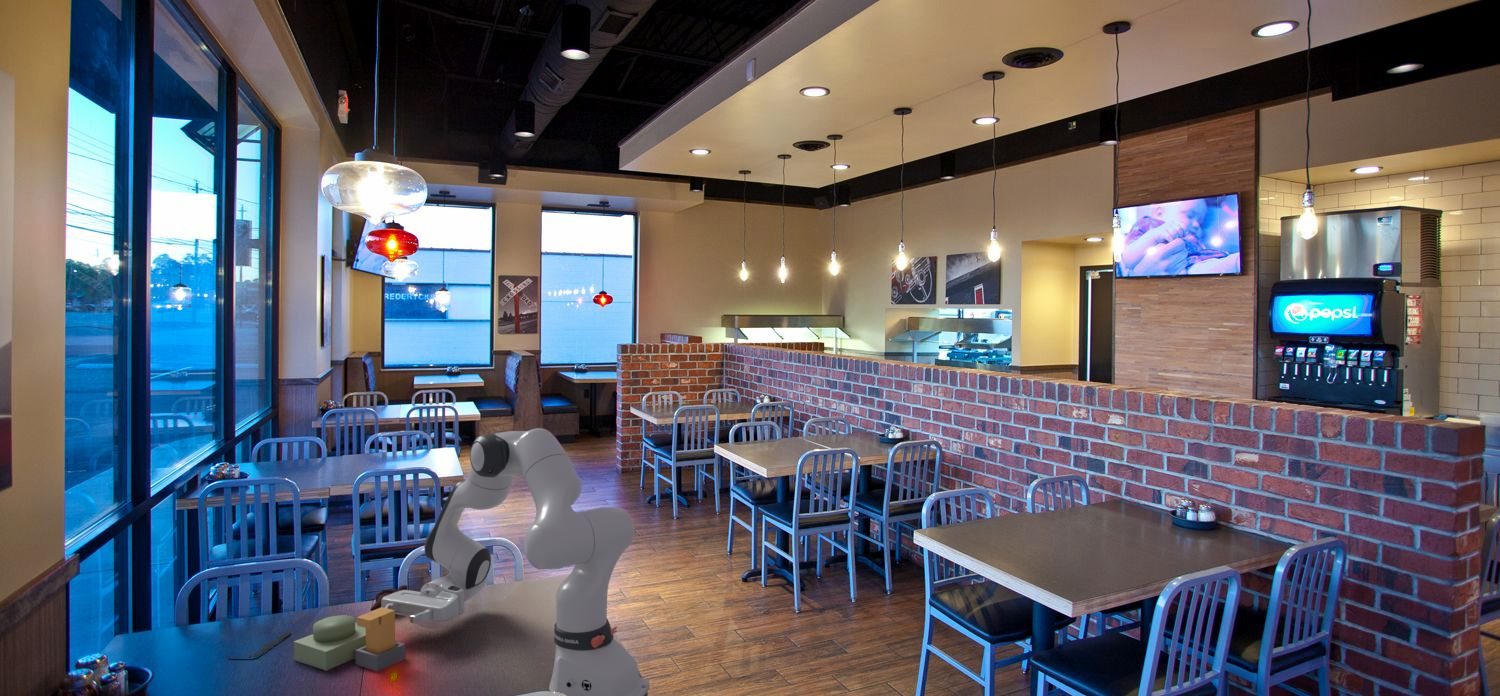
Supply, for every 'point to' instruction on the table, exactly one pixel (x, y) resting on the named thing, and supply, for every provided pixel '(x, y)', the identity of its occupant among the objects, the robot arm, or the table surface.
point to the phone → (269, 645)
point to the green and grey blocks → (342, 646)
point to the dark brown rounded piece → (385, 593)
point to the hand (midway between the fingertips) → (396, 617)
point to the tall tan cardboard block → (378, 629)
